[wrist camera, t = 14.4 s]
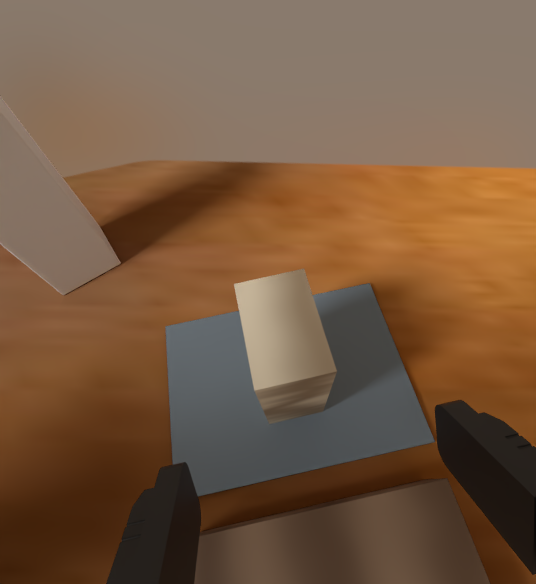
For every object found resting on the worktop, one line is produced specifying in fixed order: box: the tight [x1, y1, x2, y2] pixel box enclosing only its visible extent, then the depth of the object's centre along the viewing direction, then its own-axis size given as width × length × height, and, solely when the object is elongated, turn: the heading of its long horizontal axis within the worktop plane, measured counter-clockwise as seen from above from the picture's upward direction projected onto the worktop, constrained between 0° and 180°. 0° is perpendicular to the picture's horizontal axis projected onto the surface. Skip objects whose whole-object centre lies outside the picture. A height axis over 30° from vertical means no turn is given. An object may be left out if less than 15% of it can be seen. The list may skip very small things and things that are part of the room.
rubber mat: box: [166, 283, 435, 496], centre depth 26 cm, size 18×13×1 cm
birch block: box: [234, 269, 337, 424], centre depth 22 cm, size 4×6×10 cm, turn 12°
